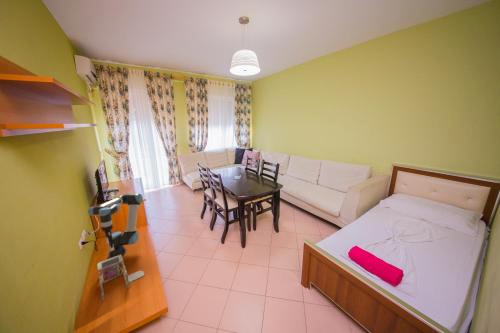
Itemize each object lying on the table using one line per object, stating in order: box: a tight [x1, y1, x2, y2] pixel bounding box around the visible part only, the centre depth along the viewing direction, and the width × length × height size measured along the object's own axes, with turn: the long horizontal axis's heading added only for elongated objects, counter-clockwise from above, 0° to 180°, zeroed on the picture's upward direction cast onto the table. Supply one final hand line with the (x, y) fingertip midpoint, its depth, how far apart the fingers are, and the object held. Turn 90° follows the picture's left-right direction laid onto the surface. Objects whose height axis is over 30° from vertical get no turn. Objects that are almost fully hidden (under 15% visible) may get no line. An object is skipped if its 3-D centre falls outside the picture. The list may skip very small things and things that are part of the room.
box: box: [102, 263, 121, 280], centre depth 160 cm, size 10×6×12 cm, turn 117°
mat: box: [128, 270, 145, 284], centre depth 160 cm, size 9×12×1 cm
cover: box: [97, 255, 124, 272], centre depth 159 cm, size 11×18×5 cm, turn 133°
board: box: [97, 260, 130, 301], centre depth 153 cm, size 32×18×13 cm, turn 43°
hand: (110, 247), depth 157 cm, fingers open, 13 cm apart
